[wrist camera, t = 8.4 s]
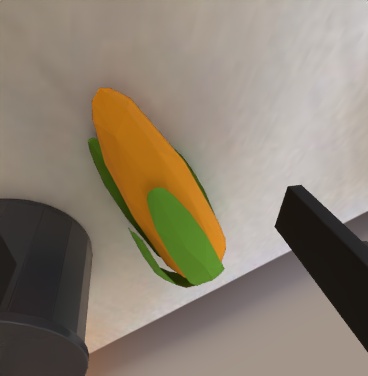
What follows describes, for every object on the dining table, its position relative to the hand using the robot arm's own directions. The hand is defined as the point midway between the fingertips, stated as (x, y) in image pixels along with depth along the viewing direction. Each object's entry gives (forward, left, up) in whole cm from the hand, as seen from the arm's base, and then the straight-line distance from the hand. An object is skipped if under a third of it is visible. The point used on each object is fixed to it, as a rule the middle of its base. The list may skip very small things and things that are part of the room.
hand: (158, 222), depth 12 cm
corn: (+5, +1, -11) cm, 12 cm away
